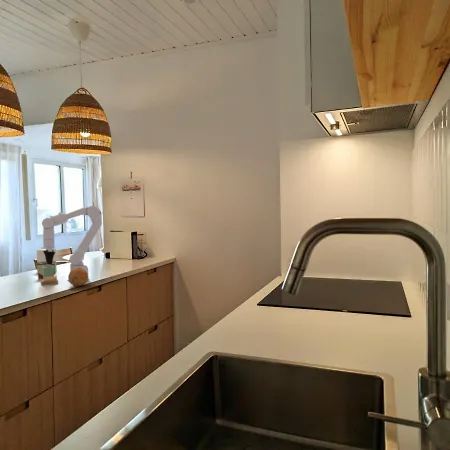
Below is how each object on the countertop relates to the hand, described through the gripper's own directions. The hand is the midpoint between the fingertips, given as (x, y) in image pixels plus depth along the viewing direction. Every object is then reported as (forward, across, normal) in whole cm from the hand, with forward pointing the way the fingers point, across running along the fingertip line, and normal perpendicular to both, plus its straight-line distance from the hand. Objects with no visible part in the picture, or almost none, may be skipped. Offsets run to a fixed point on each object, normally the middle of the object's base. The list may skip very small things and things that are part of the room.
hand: (49, 263), depth 221 cm
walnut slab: (+11, +7, -1) cm, 13 cm away
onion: (+10, +24, +12) cm, 29 cm away
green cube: (+6, +7, -1) cm, 9 cm away
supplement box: (+11, -44, +2) cm, 46 cm away
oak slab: (+9, +7, 0) cm, 11 cm away
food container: (+11, -13, +1) cm, 17 cm away
